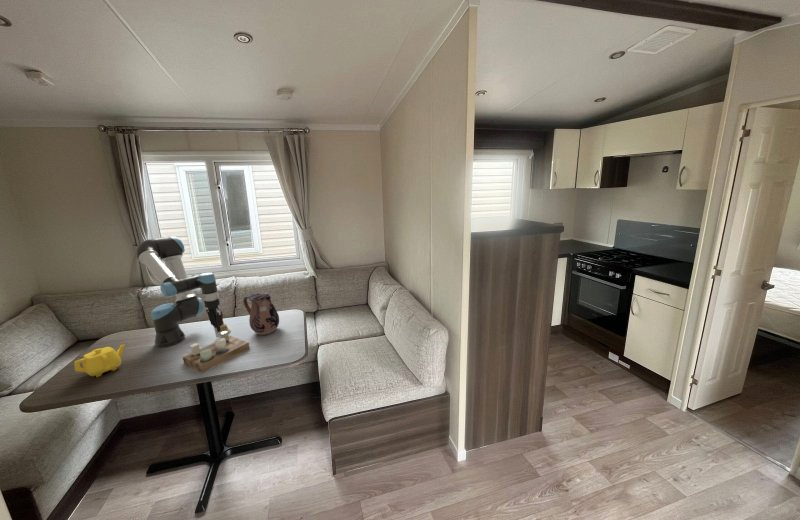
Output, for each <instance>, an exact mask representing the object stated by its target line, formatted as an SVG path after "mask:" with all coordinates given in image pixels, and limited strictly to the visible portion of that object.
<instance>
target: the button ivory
mask: <svg viewBox="0 0 800 520" xmlns="http://www.w3.org/2000/svg"><path fill="white" fill-rule="evenodd" d="M214 342H215V346H216V349H223V348H225V347H226V346H227V345H226V340H225V338H220V337H219V338H216V339H215V340H214Z"/></svg>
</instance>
